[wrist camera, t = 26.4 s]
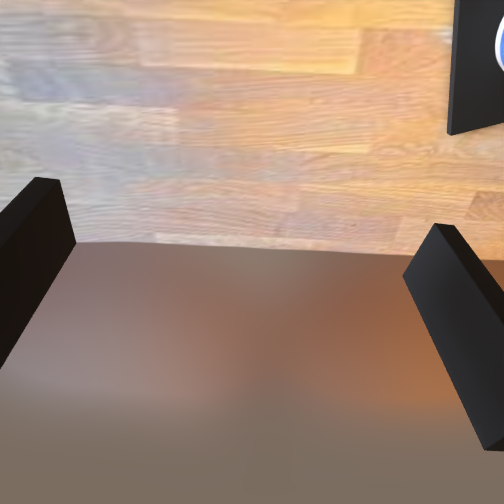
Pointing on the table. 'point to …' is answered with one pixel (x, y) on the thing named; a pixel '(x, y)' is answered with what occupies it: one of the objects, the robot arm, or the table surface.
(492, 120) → the mat
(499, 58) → the supplement tub
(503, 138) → the table surface
